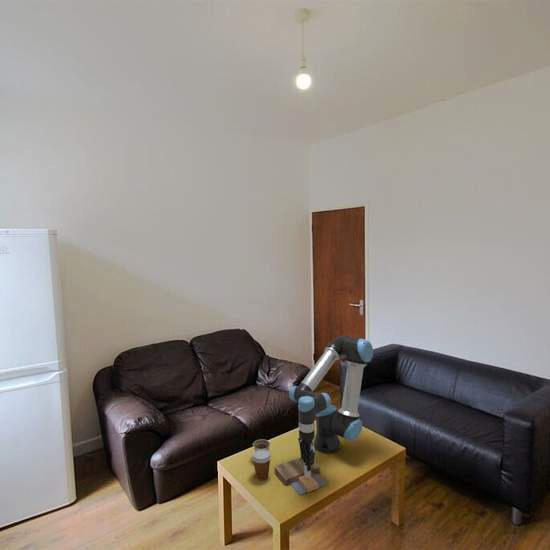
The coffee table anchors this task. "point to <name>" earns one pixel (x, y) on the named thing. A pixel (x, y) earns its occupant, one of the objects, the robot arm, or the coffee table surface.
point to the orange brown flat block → (308, 483)
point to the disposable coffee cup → (261, 463)
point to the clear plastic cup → (261, 444)
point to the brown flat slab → (293, 470)
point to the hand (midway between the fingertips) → (307, 475)
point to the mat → (302, 490)
